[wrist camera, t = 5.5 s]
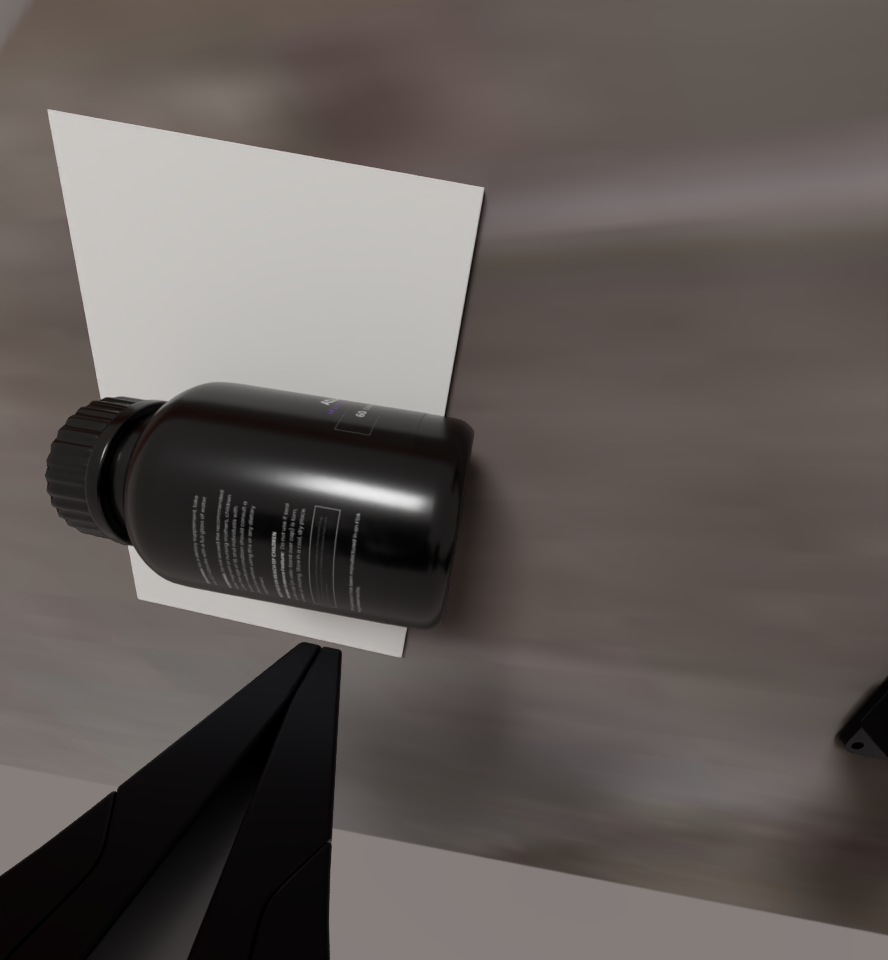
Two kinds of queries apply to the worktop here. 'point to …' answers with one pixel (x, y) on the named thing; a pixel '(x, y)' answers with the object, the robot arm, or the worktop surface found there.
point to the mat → (263, 292)
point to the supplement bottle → (274, 496)
